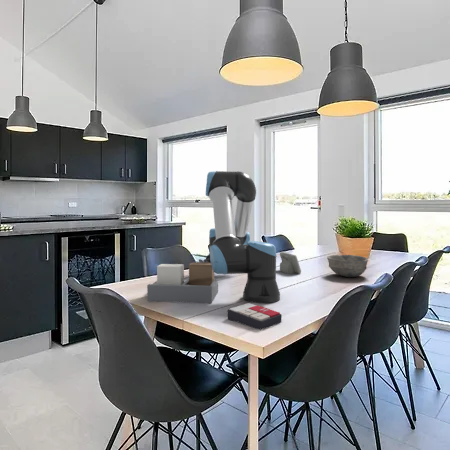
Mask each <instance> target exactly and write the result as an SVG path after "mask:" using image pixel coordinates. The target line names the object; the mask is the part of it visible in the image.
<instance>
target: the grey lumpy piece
mask: <svg viewBox="0 0 450 450" xmlns="http://www.w3.org/2000/svg"><path fill="white" fill-rule="evenodd" d="M279 256H280V260H281V261H280V263H279V271H280V272H282V273H284V274H287V275H288V274H290V275H291V274H297V275H300V274H301V273H302V269H301V266H300V263H299V260H298V257H297V255H295V254H292V253H289V252H284V251H280V253H279Z"/></svg>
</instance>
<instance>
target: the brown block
mask: <svg viewBox="0 0 450 450" xmlns="http://www.w3.org/2000/svg"><path fill="white" fill-rule="evenodd" d="M188 279H189V285H204V286H211V284H212V283H213V281H214V280H215V272H214V271H213V269H212V266H211V263H204V262H199V261H198V262H196V261H195V262H193V261H192V262H191V263H188Z"/></svg>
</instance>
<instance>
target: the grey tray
mask: <svg viewBox="0 0 450 450" xmlns="http://www.w3.org/2000/svg"><path fill="white" fill-rule="evenodd" d="M146 290H147V291H146V292H147V294H146V295H147V296H146V297H147V302H160V303H161V302H164V303H165V302H166V303H167V302H168V303H189V304H190V303H191V304H192V303H193V304H195V303H198V304H212V303H213V302H214V300H215V298H216V297H217V295H218V293H219V280H218V279H214V281H213V283H212V284H211V286H204V285H189V278H187V279H186V280H184V283H182V284H181V285H166V284H157V280H156V281H155V282H153V283H152V284H151V283H149V284H147V289H146Z"/></svg>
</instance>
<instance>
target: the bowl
mask: <svg viewBox="0 0 450 450" xmlns="http://www.w3.org/2000/svg"><path fill="white" fill-rule="evenodd" d="M326 259H327V260H328V267H329V269H331V271H332V272H333V273H335V274H336V275H338V276H341V277H345V278H357V277H358V276H361V275H363V274H364V273H365V271H366V270H367V265H368V262H369V258H367V257H364V256H361V255H353V254H342V255H340V254H332V255H328V256H327V257H326Z"/></svg>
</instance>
